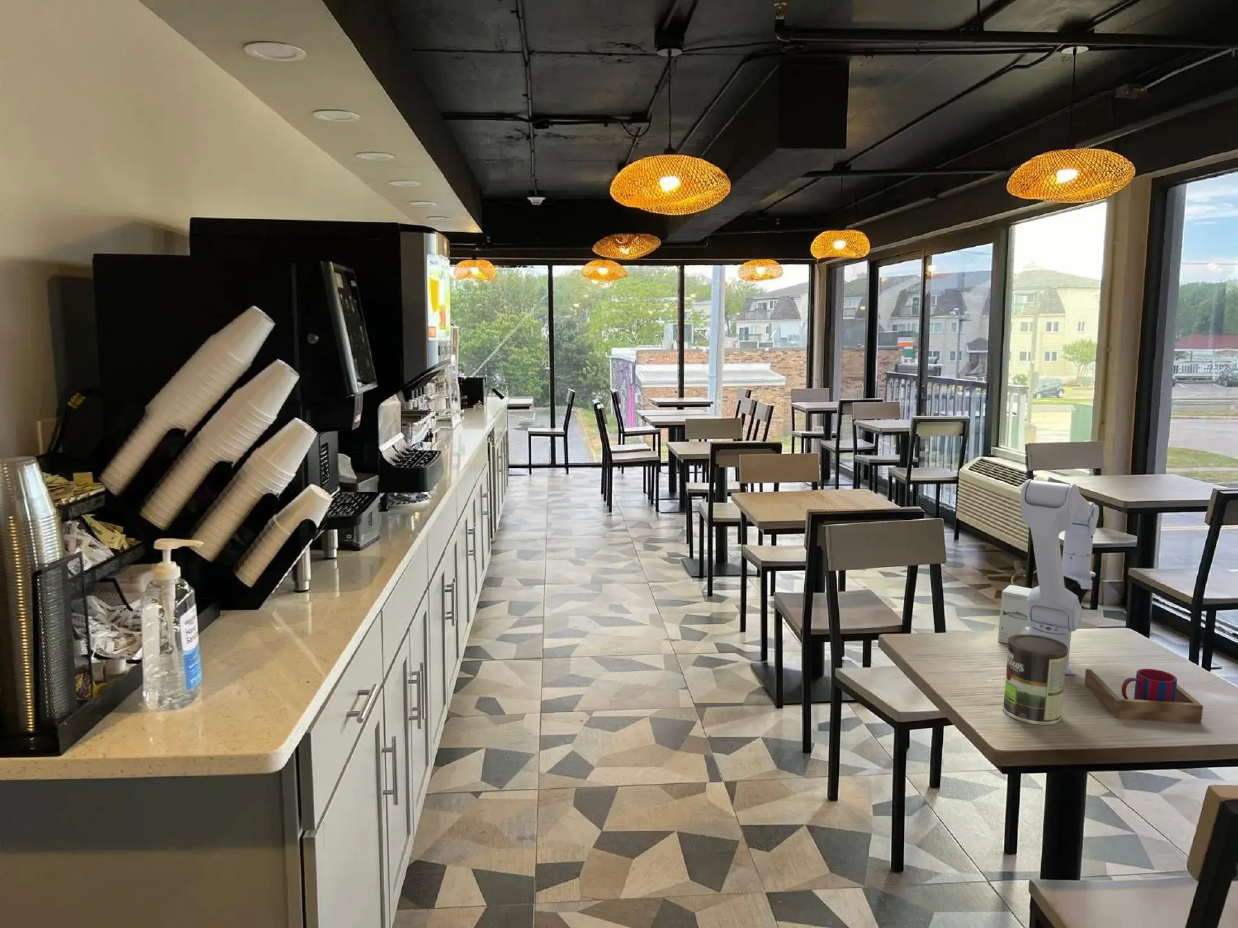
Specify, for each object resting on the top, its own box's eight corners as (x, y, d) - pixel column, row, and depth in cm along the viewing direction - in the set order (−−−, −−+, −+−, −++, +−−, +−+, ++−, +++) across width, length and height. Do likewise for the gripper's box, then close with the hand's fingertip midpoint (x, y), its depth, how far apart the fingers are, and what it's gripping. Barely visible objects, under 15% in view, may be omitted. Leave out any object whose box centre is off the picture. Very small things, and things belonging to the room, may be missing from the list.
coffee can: (1016, 725, 160) (1021, 652, 158) (994, 701, 171) (999, 633, 169) (1072, 726, 160) (1078, 653, 158) (1046, 702, 170) (1052, 634, 168)
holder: (1114, 717, 164) (1116, 700, 163) (1084, 685, 179) (1085, 669, 178) (1201, 723, 161) (1203, 705, 161) (1162, 689, 176) (1164, 673, 176)
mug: (1181, 716, 164) (1184, 682, 163) (1127, 715, 165) (1131, 681, 164) (1160, 701, 171) (1164, 668, 170) (1109, 700, 171) (1112, 667, 170)
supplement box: (996, 642, 204) (1000, 590, 202) (1006, 633, 209) (1009, 583, 207) (1030, 649, 199) (1034, 596, 197) (1038, 640, 205) (1043, 589, 203)
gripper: (1109, 561, 187) (1103, 621, 190) (1084, 545, 202) (1079, 601, 204) (1074, 560, 189) (1069, 620, 191) (1052, 544, 203) (1047, 600, 205)
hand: (1072, 610), depth 197 cm, fingers closed
